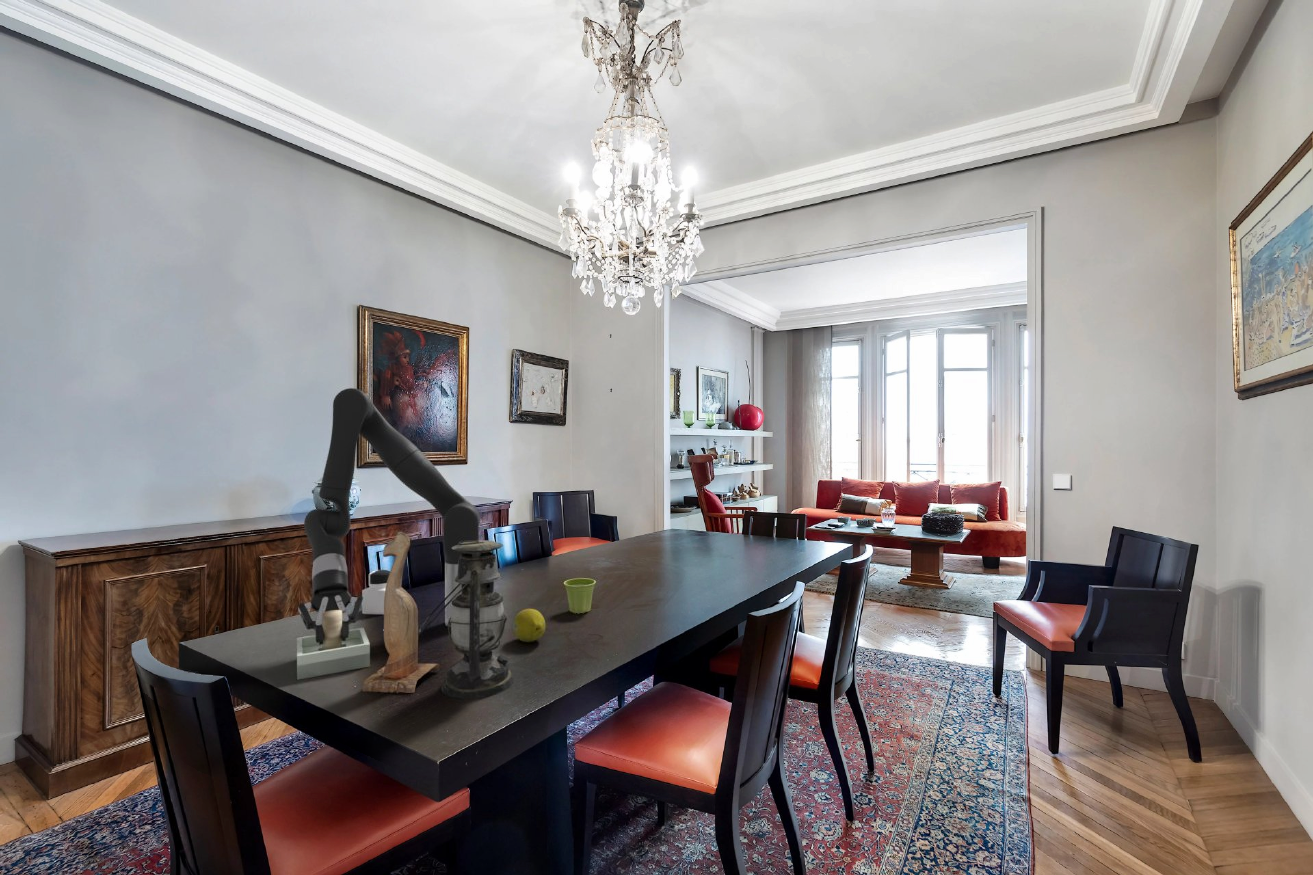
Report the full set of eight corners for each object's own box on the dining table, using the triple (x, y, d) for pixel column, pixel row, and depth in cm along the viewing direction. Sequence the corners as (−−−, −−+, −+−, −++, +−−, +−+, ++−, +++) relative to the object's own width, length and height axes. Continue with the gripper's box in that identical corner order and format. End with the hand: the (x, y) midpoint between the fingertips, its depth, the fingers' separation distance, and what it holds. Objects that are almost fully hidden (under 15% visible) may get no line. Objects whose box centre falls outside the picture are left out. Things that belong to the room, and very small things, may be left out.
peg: (345, 652, 137) (345, 609, 137) (337, 658, 133) (337, 614, 133) (327, 652, 137) (327, 610, 137) (318, 659, 133) (318, 615, 133)
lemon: (510, 636, 153) (510, 605, 153) (541, 633, 155) (541, 602, 156) (516, 650, 143) (516, 617, 143) (549, 646, 145) (548, 613, 145)
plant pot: (593, 615, 171) (593, 585, 171) (561, 615, 171) (561, 585, 171) (597, 606, 180) (597, 578, 180) (566, 606, 180) (566, 578, 180)
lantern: (512, 699, 115) (511, 546, 116) (408, 709, 111) (408, 550, 112) (514, 664, 134) (514, 532, 134) (425, 671, 130) (425, 535, 130)
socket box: (363, 647, 145) (363, 627, 145) (369, 666, 133) (369, 644, 133) (296, 659, 138) (296, 637, 138) (297, 679, 126) (297, 656, 126)
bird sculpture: (388, 672, 130) (383, 528, 130) (440, 671, 130) (435, 526, 130) (361, 694, 119) (355, 536, 119) (418, 693, 119) (412, 534, 119)
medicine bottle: (397, 607, 180) (397, 568, 180) (384, 614, 173) (384, 573, 173) (375, 607, 181) (375, 568, 181) (361, 614, 174) (361, 573, 174)
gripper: (296, 571, 138) (296, 638, 128) (363, 564, 146) (368, 627, 135) (295, 589, 143) (296, 655, 132) (361, 581, 150) (366, 643, 140)
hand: (332, 640), depth 134 cm, fingers closed on peg, 4 cm apart
